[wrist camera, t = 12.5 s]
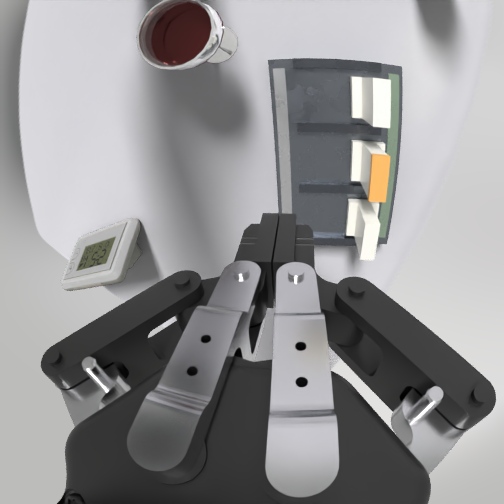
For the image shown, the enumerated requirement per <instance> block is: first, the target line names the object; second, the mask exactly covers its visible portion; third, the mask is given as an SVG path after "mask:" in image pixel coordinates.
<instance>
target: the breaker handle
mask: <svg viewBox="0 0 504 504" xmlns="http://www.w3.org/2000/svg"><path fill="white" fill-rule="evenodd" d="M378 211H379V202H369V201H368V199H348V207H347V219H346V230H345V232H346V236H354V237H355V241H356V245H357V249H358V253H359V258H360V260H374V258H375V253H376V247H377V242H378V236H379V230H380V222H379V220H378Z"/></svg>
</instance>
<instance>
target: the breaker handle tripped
mask: <svg viewBox="0 0 504 504" xmlns="http://www.w3.org/2000/svg"><path fill="white" fill-rule="evenodd" d="M389 168H390V156H389V155H387V154H386V153H385V143H384V142H376V141H362V140H351V166H350V179H351V181H360V182H361V184H362V186H363V189H364V191H365V193H366V195H367V197H368V201H369V202H386V195H387V187H388V178H389Z"/></svg>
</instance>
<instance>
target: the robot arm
mask: <svg viewBox="0 0 504 504" xmlns="http://www.w3.org/2000/svg"><path fill="white" fill-rule="evenodd" d="M274 299H275V314H274V336H273V359H272V360H266V361H259V362H255V358H256V354H257V350H258V347H259V343H260V339H261V336H262V332H263V328H264V324H265V315H266V310H267V308H273V306H274ZM174 316H176V319H177V321H175V322H174V323H172V324H171V325H169V326H168V327H166V328H165V329H163V330H161V331H160V332H158V333H157V334H155V335H154V336H152V337H150V338H148V335H149V333H150V332H151V331H152V330H153V329H155V328H156V327H158V326H159V325H161V324H163V323H164V322H166V321H167V320H169V319H171V318H172V317H174ZM328 344H329V346H330V348H331V349H332V350H333V351H334V352H335V353H336V354H337V355H338V356H339V357H340V358H341V359H342V360H343V361H344V362H345V363H346V364H347V365H348V366H349V367H350V368H351V369H352V370H353V371H354V372H355V373H356V374H357V375H358V377H359V378H360V379H361V380H362V381H363V382H364V383H365V384H366V385H367V386H368V387H369V388H370V389H371V390H372V391H373V392H374V393H375V394H376V395H377V396H378V397H379V398H380V399H381V400H382V401H383V402H384V403H385V404H386V405H387V406H388V407H389V408H390V409H391V410H392V411H393V414H392V417H391V425H392V428H393V430H394V432H395V433H396V434H395V433H394V432H393V431H392V430H391V429H390V428H389V427H388V425H387V424H386V423H385V422H384V421H383V420H382V419H381V417H380V416H379V415H378V414H377V413H376V412H375V411H374V410H373V408H372V407H371V406H370V405H369V404H368V403H367V402H366V400H365V399H364V398H363V397H362V396H361V395H360V394H359V392H357V390H356V389H355V388H354V387H353V386H352V385H351V384H350V383H349V382H348V381H347V380H346V379H344V378H343V377H341V376H340V375H338V374H336V373H334V372H332V371H331V368H330V358H329V349H328ZM41 368H42V371H43V372H44V373H45V374H46V375H47V376H48V377H49V378H50V379H51V380H52V381H53V382H54V383H55V385H56V386H57V387H58V388H59V389H60V390H61V392H62V395H63V398H64V400H65V403H66V405H67V408H68V411H69V413H70V416H71V418H72V420H73V423H74V425H75V428H74V429H73V430H72V432H71V433H70V435H69V437H68V439H67V442H66V447H65V448H66V449H65V457H66V458H65V459H66V470H67V480H66V489H65V493H64V495H63V497H62V499H61V500H60V501H59V502H58V503H57V504H428V501H429V497H430V491H431V490H430V489H431V484H430V478H429V474H430V472H432V471H433V470H434V468H435V467H436V466H437V465H438V464H439V463H440V462H441V461H442V459H443V458H444V457H445V456H446V455H447V454H448V452H449V451H450V450H451V449H452V448H453V446H454V445H455V444H456V443H457V441H458V440H459V439H460V437H461V436H462V435H463V433H464V432H466V431H467V430H469V429H470V428H471V427H473V426H474V425H475V424H477V423H478V422H479V421H481V420H482V419H483V418H484V417H486V416H487V415H488V414H489V413H490V412H491V411H492V410H493V408H494V406H495V402H496V394H495V390H494V388H493V386H492V384H491V383H490V382H489V381H488V380H487V379H486V378H485V377H484V376H483V375H482V374H480V372H478V371H477V370H476V369H475V368H474V367H473V366H472V365H471V364H469V363H468V362H467V361H466V360H465V359H464V358H463V357H461V356H460V355H459V354H458V353H457V352H456V351H455V350H453V349H452V348H451V347H450V346H448V345H447V344H446V343H445V342H444V341H443V340H442V339H440V338H439V337H438V336H437V335H436V334H434V333H433V332H432V331H431V330H430V329H428V328H427V327H426V326H425V325H424V324H422V323H421V322H420V321H419V320H417V319H416V318H415V317H414V316H413V315H411V314H410V313H409V312H408V311H406V310H405V309H404V308H403V307H401V306H400V305H399V304H398V303H396V302H395V301H394V300H393V299H391V298H390V297H389V296H387V295H386V294H385V293H384V292H382V291H381V290H380V289H378V288H377V287H376V286H375V285H373V284H372V283H371V282H369V281H368V280H366V279H363V278H360V277H348V278H345V279H343V280H341V281H340V282H339V283H338V284H335V283H331V282H328V281H326V280H324V279H322V278H321V277H319V276H318V275H317V273H316V271H315V268H314V240H313V230H312V229H311V228H310V226H309V225H297V214H287V213H281V214H279V213H263V215H262V219H261V223H260V224H251V225H250V226H249V227H247V228H246V229H245V231H244V233H243V236H242V239H241V242H240V245H239V248H238V251H237V254H236V257H235V260H234V262H233V263H231V264H229V265H228V266H227V267H226V268H225V269H224V270H223V272H222V274H221V276H219V277H216V278H211V279H206V280H201V277H200V275H199V274H198V273H196V272H194V271H189V270H185V271H180V272H177V273H174V274H173V275H171V276H169V277H167V278H166V279H164V280H162V281H160V282H159V283H157V284H155V285H154V286H152V287H150V288H148V289H147V290H145V291H143V292H142V293H140V294H138V295H136V296H135V297H133V298H131V299H130V300H128V301H126V302H125V303H123V304H121V305H119V306H118V307H116V308H114V309H113V310H111V311H109V312H108V313H106V314H104V315H103V316H101V317H99V318H98V319H96V320H94V321H93V322H91V323H89V324H88V325H86V326H84V327H83V328H81V329H79V330H78V331H76V332H74V333H73V334H71V335H70V336H68V337H66V338H65V339H63V340H61V341H60V342H58V343H56V344H55V345H53V346H52V347H50V348H49V349H48V350H47V351H46V352H45V354H44V355H43V358H42V361H41ZM397 436H398V437H397Z"/></svg>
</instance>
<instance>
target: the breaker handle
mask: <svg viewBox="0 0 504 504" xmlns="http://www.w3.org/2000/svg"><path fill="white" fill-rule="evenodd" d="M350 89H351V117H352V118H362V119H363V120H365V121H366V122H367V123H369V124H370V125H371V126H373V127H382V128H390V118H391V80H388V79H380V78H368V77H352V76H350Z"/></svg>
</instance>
